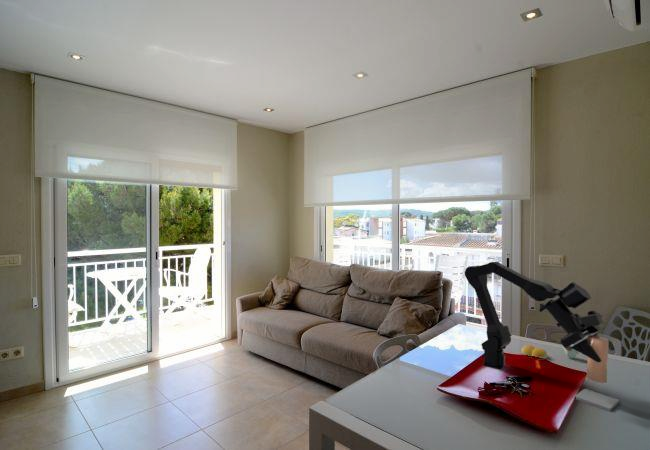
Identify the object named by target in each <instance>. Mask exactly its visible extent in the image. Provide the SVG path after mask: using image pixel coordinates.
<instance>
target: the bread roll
mask: <svg viewBox="0 0 650 450" xmlns="http://www.w3.org/2000/svg"><path fill="white" fill-rule="evenodd" d="M520 352H521V354H522V355H523V356H525V355H528V356H535V357H539V358H543V359H542V360H546V359H547V357H548V353H547V351H546V350H544V349H543V348H539V347H535V346H534V345H531V344H530V345H529V344H527V345H525V346H523V347H522V348H521V351H520Z"/></svg>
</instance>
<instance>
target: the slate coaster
mask: <svg viewBox="0 0 650 450" xmlns="http://www.w3.org/2000/svg"><path fill="white" fill-rule="evenodd" d="M575 396H576V399H575V400H576V401H580V402H583V403H585V404H588V405H590V406H594V407H596V408H599V409H602V410H605V411H608V412H611V411H612V410H613V409H614V408H615V407H616V406H617V405H618V404H619V403H620V399H617V398H614V397H611V396H608V395H606V394H602V393H601V392H600V393H599V392H595V391H593V390H590V389H587V388H584V389H582V390H581V391H579V392H578V393H577V394H575Z"/></svg>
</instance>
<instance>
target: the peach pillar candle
mask: <svg viewBox="0 0 650 450" xmlns="http://www.w3.org/2000/svg"><path fill="white" fill-rule="evenodd" d="M588 337H590V345H591V346H592V348H593V349H594V350H595V352H596V353H597V355H598V356H599V357H600V359H601V362H596V361H595V360H593V359H591V358H589V357H588V356H587V358H586V359H587V360H586V362H587V365H586V379H588V380H590V381H592V382H595V383H600V384H605V383H608V382H607V381H608V367H609V366H608V365H609V363H608V359H609V339H608V338H606V337H604V336H600V335H599V336H593V335H590V336H588Z"/></svg>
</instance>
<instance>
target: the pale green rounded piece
mask: <svg viewBox="0 0 650 450" xmlns="http://www.w3.org/2000/svg"><path fill="white" fill-rule="evenodd" d="M572 346H574V345H573V344H572V345H570V346H569V347H567V348H564V347H563V345H562V344H561V347H562V348H563V350H564V353H565V354H566V356H567V357H568V358H569V359H575V358H576V357H577V355H579V354H581V353H580V352H578V351H576V350H574V349H571V348H570V347H572Z"/></svg>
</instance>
